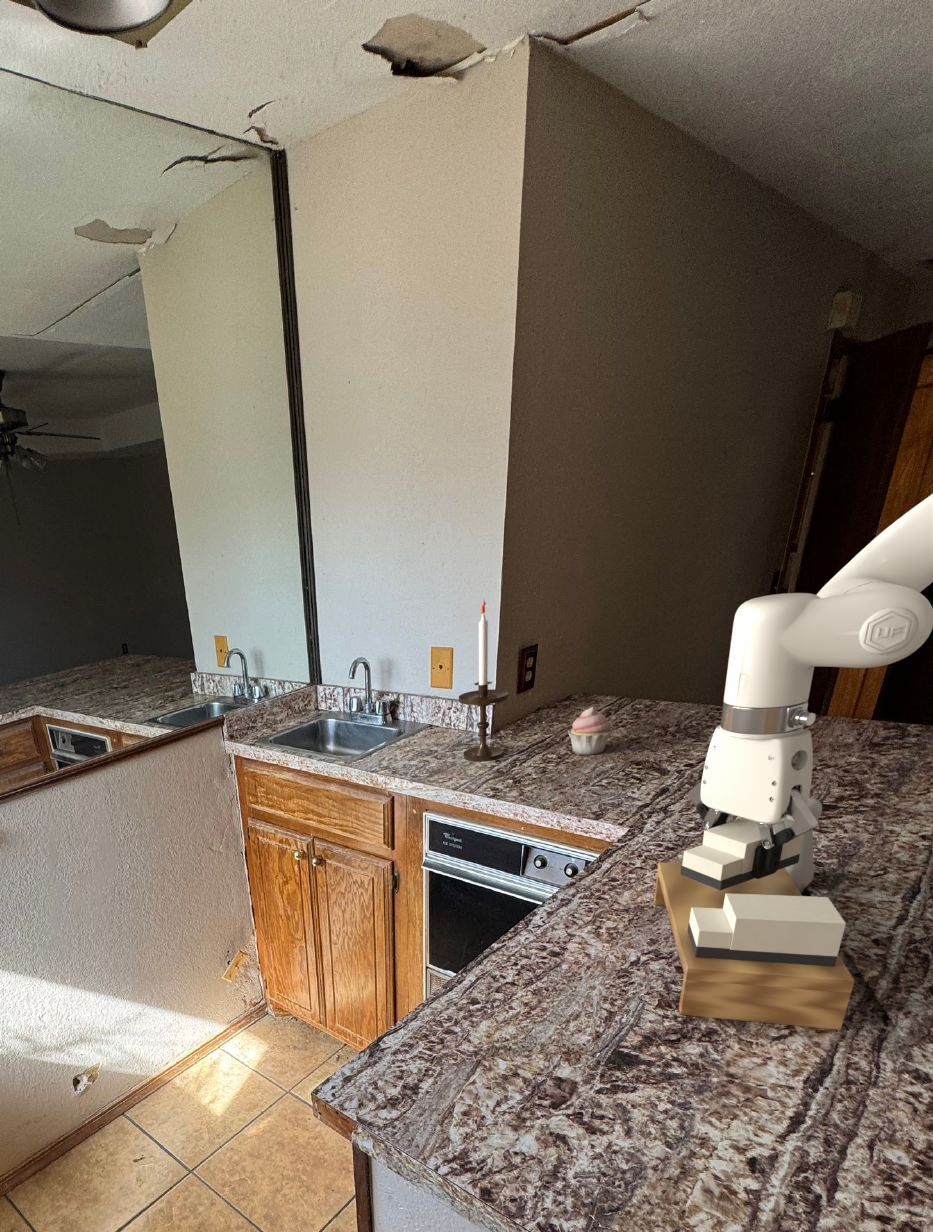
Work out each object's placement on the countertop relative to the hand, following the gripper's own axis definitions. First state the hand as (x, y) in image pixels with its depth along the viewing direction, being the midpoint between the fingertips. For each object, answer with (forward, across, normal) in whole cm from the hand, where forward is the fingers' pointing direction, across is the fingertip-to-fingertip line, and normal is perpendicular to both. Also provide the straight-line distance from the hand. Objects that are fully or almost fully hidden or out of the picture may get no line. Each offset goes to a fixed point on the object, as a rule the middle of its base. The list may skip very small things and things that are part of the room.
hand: (739, 864), depth 83 cm
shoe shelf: (+9, -4, +4) cm, 11 cm away
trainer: (0, 0, 0) cm, 0 cm away
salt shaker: (+9, +4, -14) cm, 17 cm away
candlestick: (+9, +83, -22) cm, 87 cm away
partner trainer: (+3, -10, +9) cm, 14 cm away
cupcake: (+9, +69, -40) cm, 81 cm away
